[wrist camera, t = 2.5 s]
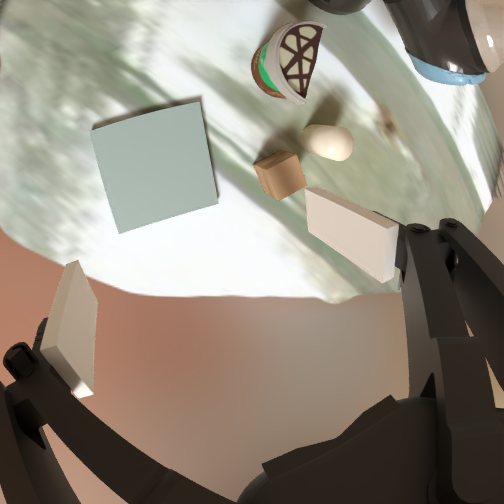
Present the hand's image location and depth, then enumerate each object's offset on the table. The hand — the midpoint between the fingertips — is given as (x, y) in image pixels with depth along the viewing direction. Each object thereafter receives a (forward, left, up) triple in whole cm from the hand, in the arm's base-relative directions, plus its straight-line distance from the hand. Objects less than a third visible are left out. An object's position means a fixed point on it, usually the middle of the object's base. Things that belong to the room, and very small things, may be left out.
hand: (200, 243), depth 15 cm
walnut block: (-16, +5, -27) cm, 32 cm away
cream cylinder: (-24, +1, -27) cm, 36 cm away
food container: (-17, -12, -27) cm, 35 cm away
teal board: (+1, 0, -27) cm, 27 cm away
